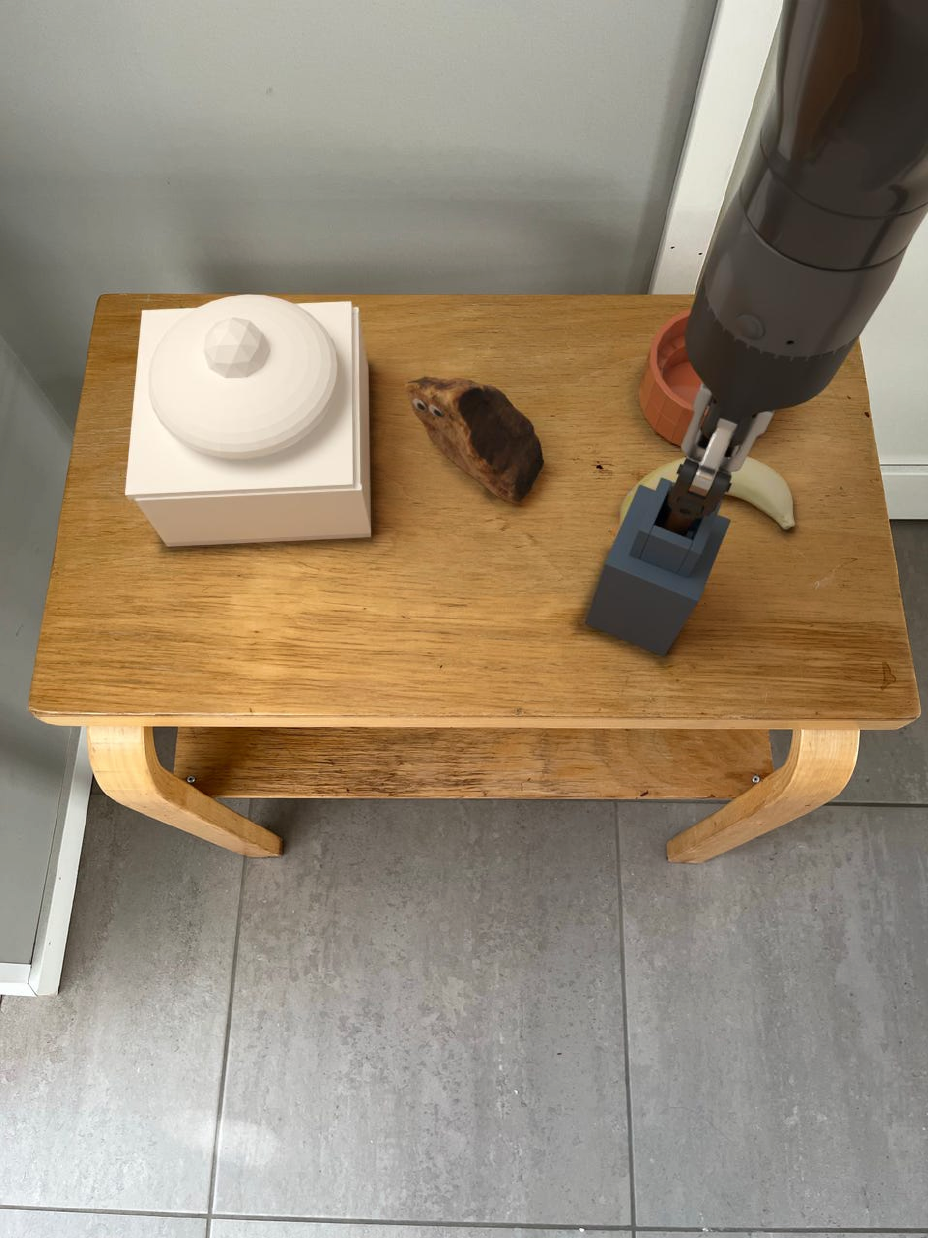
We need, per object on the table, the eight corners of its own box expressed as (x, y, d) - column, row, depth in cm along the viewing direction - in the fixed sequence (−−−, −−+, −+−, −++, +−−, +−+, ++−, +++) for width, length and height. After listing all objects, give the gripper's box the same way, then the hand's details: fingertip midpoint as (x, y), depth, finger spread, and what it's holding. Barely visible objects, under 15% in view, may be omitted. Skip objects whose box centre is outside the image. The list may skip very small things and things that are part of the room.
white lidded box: (371, 536, 78) (349, 435, 63) (160, 546, 78) (88, 447, 63) (369, 366, 85) (348, 237, 70) (173, 374, 84) (111, 247, 69)
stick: (683, 536, 65) (739, 426, 52) (677, 555, 64) (732, 449, 51) (662, 529, 65) (712, 418, 52) (655, 548, 65) (704, 440, 52)
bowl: (777, 375, 84) (799, 333, 78) (738, 472, 80) (759, 435, 75) (662, 334, 86) (676, 289, 80) (619, 427, 82) (631, 387, 77)
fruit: (607, 473, 80) (612, 453, 77) (775, 458, 81) (788, 438, 78) (619, 546, 78) (625, 529, 75) (793, 531, 78) (807, 513, 75)
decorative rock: (405, 445, 81) (396, 371, 71) (447, 400, 83) (444, 322, 73) (512, 520, 79) (518, 454, 69) (553, 471, 80) (566, 400, 70)
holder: (692, 585, 77) (747, 491, 62) (663, 657, 74) (713, 578, 59) (614, 553, 78) (650, 454, 63) (583, 623, 75) (613, 538, 60)
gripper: (827, 439, 38) (718, 598, 54) (915, 196, 42) (791, 409, 58) (655, 375, 39) (599, 549, 55) (759, 146, 43) (680, 368, 59)
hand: (699, 476), depth 56 cm, fingers open, 4 cm apart
